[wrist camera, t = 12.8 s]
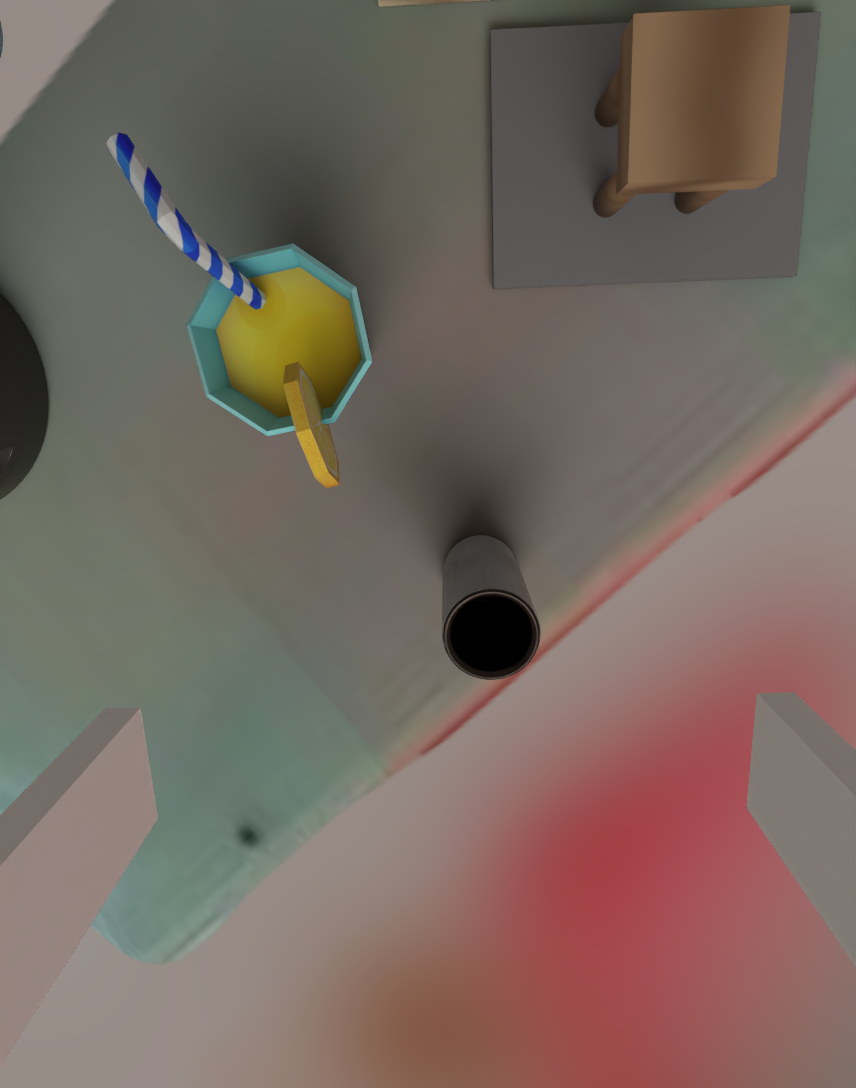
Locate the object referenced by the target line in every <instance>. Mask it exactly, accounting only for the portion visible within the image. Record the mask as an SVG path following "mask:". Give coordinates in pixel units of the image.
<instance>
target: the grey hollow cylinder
mask: <svg viewBox="0 0 856 1088" xmlns="http://www.w3.org/2000/svg"><path fill="white" fill-rule="evenodd" d="M442 639H443V645H444V648H445V651H446V653H447V655H448V657H449V658H450V660H451V661H452V662H453V663H454V665H455V666H456V667H458V668H459V669H460V670H461V671H463V672H465V673H466V674H468V675H470V676H473V677H476V678H480V679H486V680H495V679H502V678H506V677H509V676H511V675H513V674H515V673H517V672H519V671H520V670H522V669H523V668H524V667H525V666H526V665H527V664H528V663H529V662H530V661H531V660H532V658H533V657H534V655H535V653H536V651H537V649H538V646H539V642H540V624H539V620H538V617H537V614H536V612H535V609H534V606H533V604H532V601H531V598H530V595H529V593H528V590H527V587H526V585H525V582H524V579H523V576H522V574H521V571H520V568H519V566H518V563H517V560H516V558H515V556H514V554H513V553H512V551H511V550H510V549H509V547H508V546H507V545H506V544H504V543H503V542H502V541H500V540H498V539H496V538H494V537H490V536H485V535H477V536H471V537H468V538H465V539H463V540H461V541H460V542H458V543H457V544H456V545H455V546H454V547H453V548H452V549H451V550H450V551H449V553H448V555H447V557H446V559H445V562H444V566H443V588H442Z"/></svg>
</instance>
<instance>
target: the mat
mask: <svg viewBox="0 0 856 1088" xmlns="http://www.w3.org/2000/svg"><path fill="white" fill-rule="evenodd" d="M820 18H821V12H809V13H790V16H789V29H788V41H787V53H786V65H785V77H784V90H783V102H782V114H781V126H780V138H779V151H778V163H777V175H776V177H775V178H773V179H771V180H769V181H768V182H766V183H764V184H762V185H761V186H759V187H757V188H755V189H738V190H729V191H727V192H725V193H724V194H722V195H720V196H719V197H717V198H716V199H714V200H712V201H711V202H709V203H707V204H706V205H704V206H702V207H701V208H699V209H698V210H696V211H694V212H693V213H690V214H683V213H681V212H679V211H678V210H677V208H676V207H675V203H674V198H675V194H676V192H673V193H651V194H636V195H635V196H634V197H633V198H632V199H631V200H630V201H628V202H627V203H626V204H625V205H624V206H623V207H622V208H621V209H619V210H618V211H617V212H616V213H615V214H614V215H612V216H610V217H607V218H604V217H600V216H598V215H597V214H596V213H595V211H594V209H593V199H594V196H595V195H596V193H597V192H598V191H599V190H600V189H601V188H602V187H603V185H604V184H605V183H606V182H607V181H608V180H609V179H610V178H611V176H612V175H613V174H614V173H615V172H616V171H617V149H618V123H617V124H616V125H614V126H612V127H603V126H601V125H599V124H598V122H597V121H596V119H595V107H596V105H597V103H598V101H599V100H600V98H601V96H602V95H603V93H604V91H605V90H606V88H607V86H608V84H609V83H610V81H611V79H612V78H613V76H614V74H615V72H616V71H617V69H618V67H619V66H620V45H621V36H622V34H623V32H624V30H625V29H626V27H627V25H628V23H629V22H624V23H605V24H587V25H568V26H550V27H531V28H513V29H494V30H491V31H490V81H491V159H492V237H493V289H513V288H536V287H560V286H584V285H608V284H631V283H655V282H679V281H703V280H726V279H750V278H774V277H792V276H796V275H797V268H798V257H799V246H800V236H801V225H802V214H803V203H804V192H805V181H806V170H807V159H808V148H809V138H810V127H811V116H812V105H813V94H814V83H815V72H816V61H817V51H818V40H819V29H820Z"/></svg>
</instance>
